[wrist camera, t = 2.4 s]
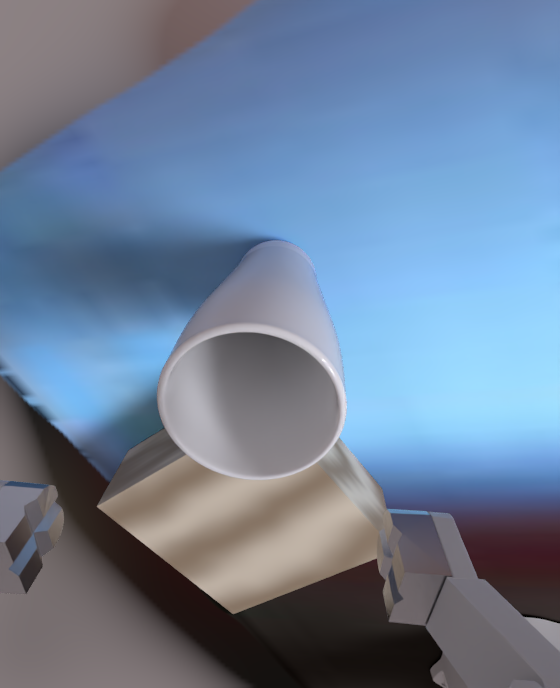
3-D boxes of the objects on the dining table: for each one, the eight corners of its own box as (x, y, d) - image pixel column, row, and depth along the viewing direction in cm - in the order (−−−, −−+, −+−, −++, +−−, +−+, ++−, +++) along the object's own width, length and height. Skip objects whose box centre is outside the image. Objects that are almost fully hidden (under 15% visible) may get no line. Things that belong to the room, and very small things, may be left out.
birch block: (382, 488, 35) (395, 550, 30) (242, 551, 40) (233, 614, 35) (274, 359, 30) (267, 407, 25) (128, 450, 35) (96, 506, 30)
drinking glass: (235, 326, 29) (176, 486, 16) (219, 231, 26) (129, 330, 12) (329, 319, 28) (352, 481, 15) (324, 221, 25) (347, 314, 12)
